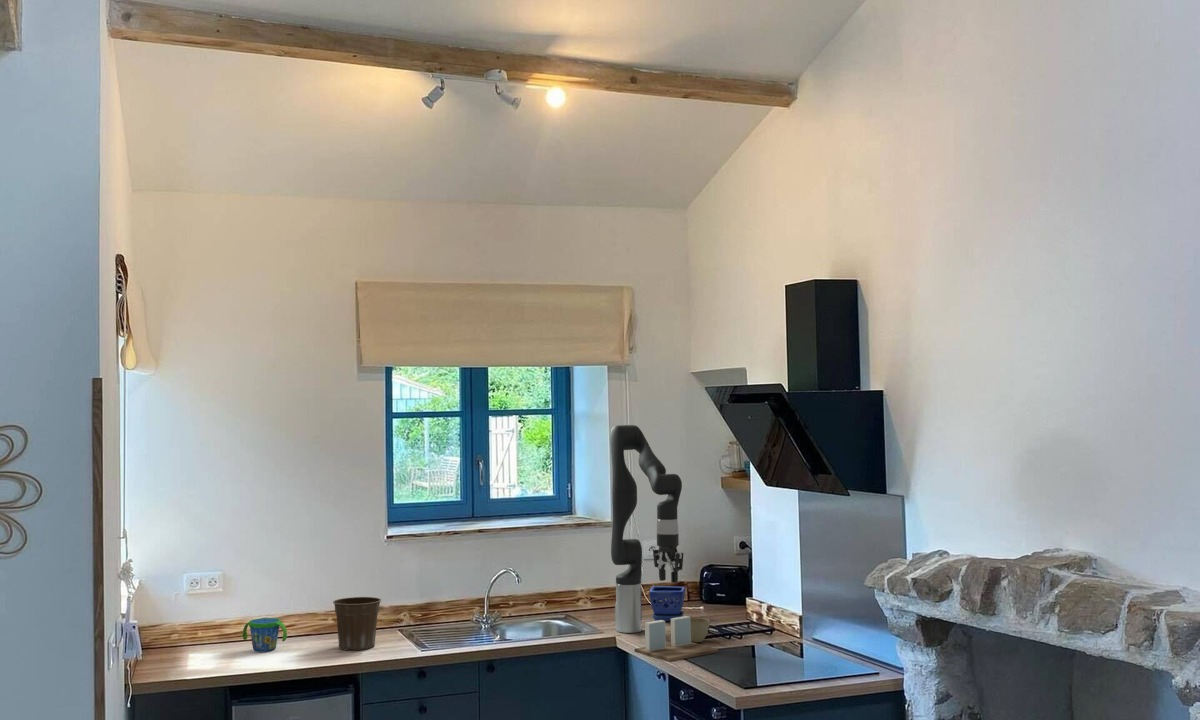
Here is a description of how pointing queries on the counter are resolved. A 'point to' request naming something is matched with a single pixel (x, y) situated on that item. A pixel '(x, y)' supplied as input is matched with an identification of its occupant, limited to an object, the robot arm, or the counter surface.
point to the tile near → (655, 635)
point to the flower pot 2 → (698, 629)
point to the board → (678, 651)
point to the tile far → (680, 631)
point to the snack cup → (264, 633)
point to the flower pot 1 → (667, 602)
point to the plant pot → (357, 622)
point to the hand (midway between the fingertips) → (668, 581)
